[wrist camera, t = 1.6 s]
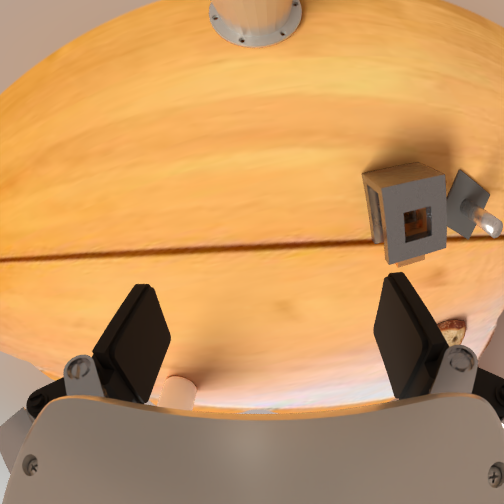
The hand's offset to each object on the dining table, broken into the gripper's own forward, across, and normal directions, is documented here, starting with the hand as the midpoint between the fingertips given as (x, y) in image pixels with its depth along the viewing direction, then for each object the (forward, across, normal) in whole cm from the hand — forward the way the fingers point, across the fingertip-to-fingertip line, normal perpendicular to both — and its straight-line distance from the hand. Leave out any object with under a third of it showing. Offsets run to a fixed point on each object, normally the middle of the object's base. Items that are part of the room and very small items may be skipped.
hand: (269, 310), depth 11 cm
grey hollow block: (+31, -20, +6) cm, 37 cm away
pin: (+30, -35, +6) cm, 47 cm away
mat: (+31, -35, +6) cm, 47 cm away
